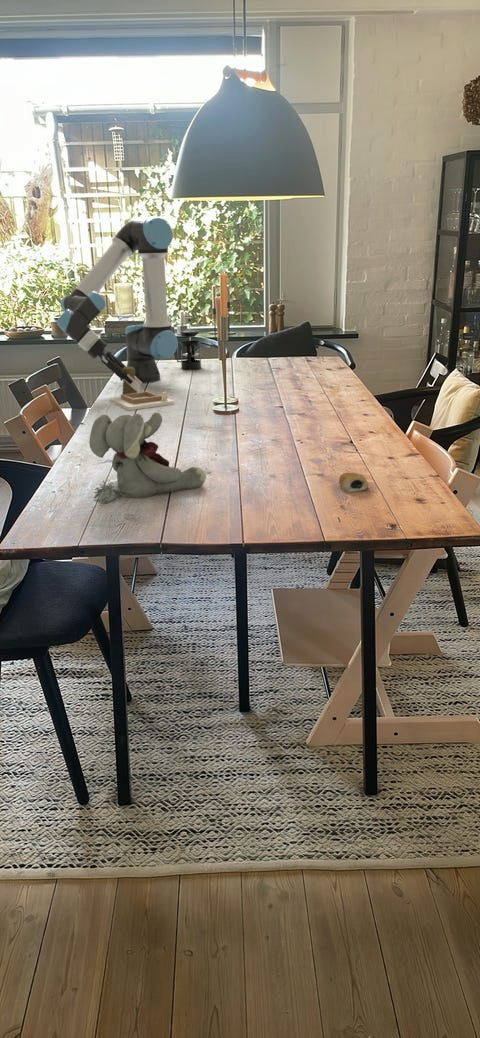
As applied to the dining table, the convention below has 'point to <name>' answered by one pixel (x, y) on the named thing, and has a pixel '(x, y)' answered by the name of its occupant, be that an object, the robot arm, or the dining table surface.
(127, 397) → the seat board
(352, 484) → the pastry
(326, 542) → the dining table surface
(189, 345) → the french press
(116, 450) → the plush elephant
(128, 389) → the cork
